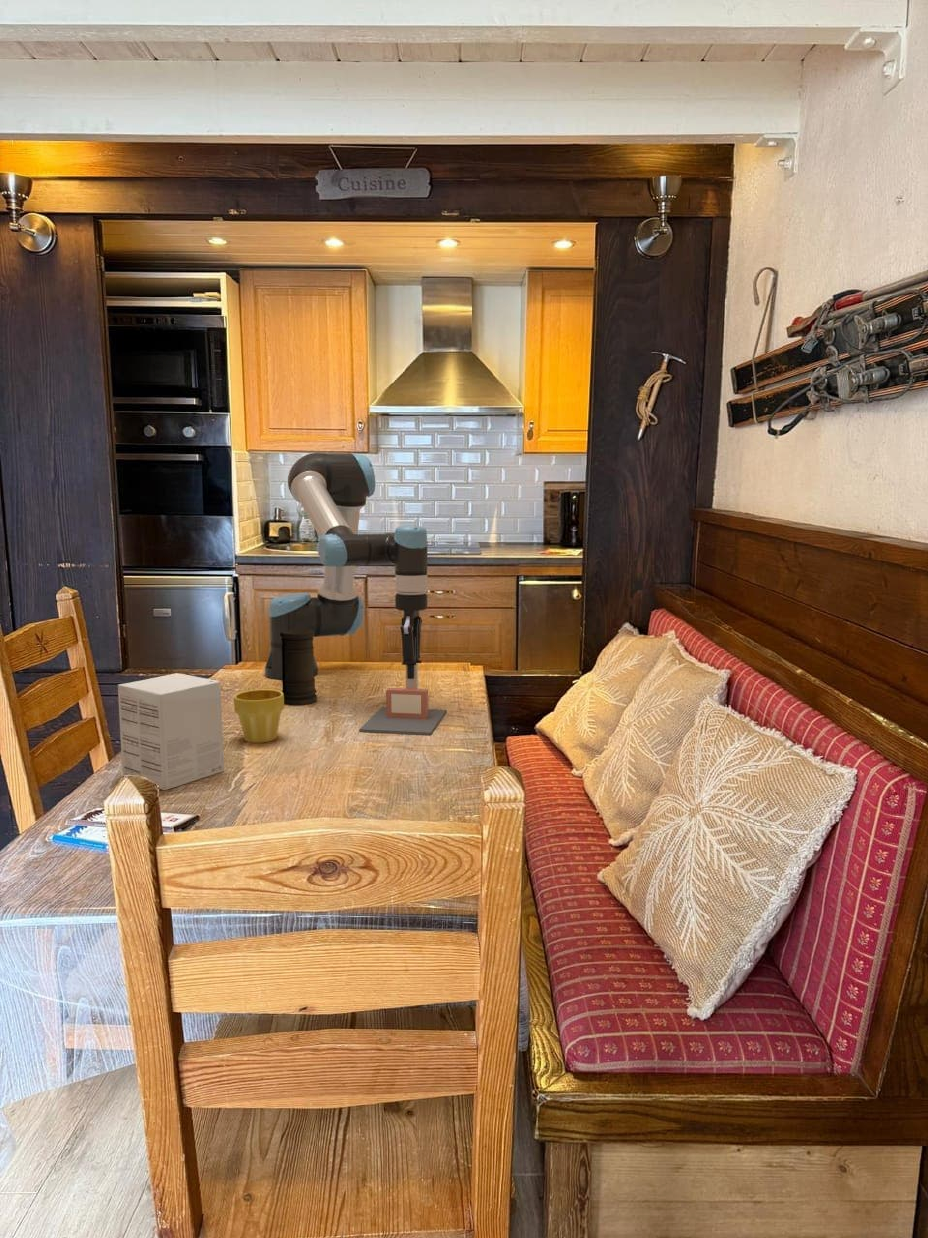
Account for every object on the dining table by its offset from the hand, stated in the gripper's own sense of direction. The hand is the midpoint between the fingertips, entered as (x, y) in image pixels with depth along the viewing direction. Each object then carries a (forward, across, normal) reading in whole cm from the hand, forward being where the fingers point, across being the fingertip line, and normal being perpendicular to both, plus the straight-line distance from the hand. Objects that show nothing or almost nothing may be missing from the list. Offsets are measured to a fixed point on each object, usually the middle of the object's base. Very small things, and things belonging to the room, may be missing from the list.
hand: (411, 691), depth 199 cm
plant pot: (+6, +26, -28) cm, 38 cm away
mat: (+6, +7, 0) cm, 9 cm away
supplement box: (+6, +50, -34) cm, 61 cm away
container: (+6, -7, -31) cm, 32 cm away
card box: (+5, +5, 0) cm, 7 cm away
